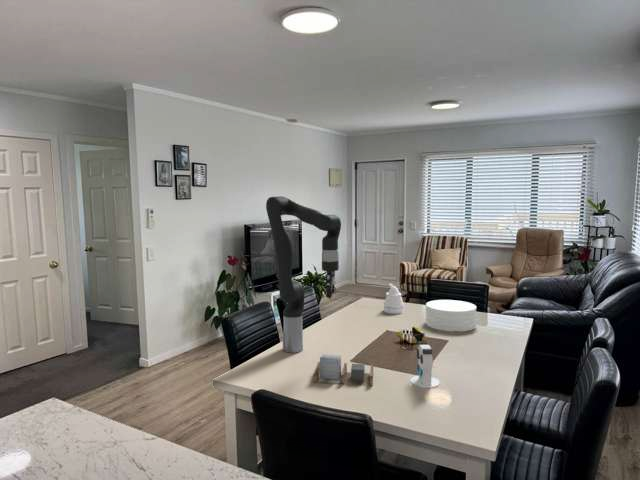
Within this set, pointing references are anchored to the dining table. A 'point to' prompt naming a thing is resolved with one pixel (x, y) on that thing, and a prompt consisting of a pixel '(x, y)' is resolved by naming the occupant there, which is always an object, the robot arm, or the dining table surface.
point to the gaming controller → (415, 335)
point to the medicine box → (330, 366)
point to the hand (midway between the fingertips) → (330, 295)
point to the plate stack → (451, 315)
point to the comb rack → (343, 377)
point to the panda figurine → (424, 367)
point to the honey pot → (393, 301)
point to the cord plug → (357, 372)
